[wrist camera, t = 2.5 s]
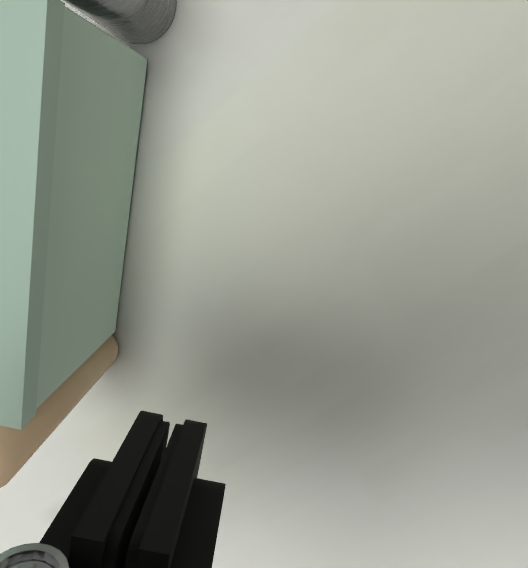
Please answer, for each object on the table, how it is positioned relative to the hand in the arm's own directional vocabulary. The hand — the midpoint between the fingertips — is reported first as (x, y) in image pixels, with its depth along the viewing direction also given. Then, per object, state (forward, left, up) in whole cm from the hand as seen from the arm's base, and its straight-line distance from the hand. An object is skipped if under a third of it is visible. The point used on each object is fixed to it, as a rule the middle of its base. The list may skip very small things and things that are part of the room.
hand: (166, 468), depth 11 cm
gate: (+4, -5, -10) cm, 12 cm away
